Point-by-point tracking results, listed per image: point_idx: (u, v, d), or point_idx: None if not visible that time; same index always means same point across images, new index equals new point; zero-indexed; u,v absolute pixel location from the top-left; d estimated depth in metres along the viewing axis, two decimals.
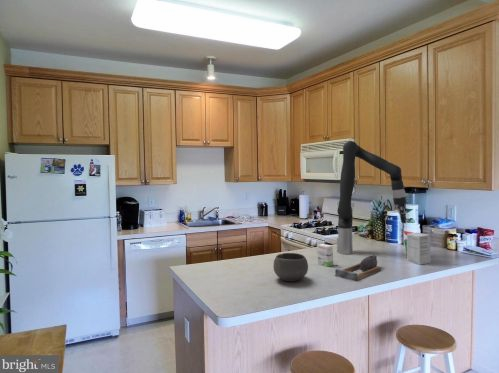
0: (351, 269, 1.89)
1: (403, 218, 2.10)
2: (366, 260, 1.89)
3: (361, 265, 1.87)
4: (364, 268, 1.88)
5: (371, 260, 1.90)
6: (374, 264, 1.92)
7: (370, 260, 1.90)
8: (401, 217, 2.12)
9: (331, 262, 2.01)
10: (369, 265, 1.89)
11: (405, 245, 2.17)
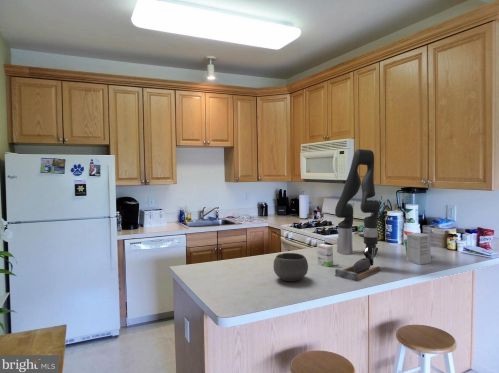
0: (351, 269, 1.89)
1: (370, 260, 1.93)
2: (359, 263, 1.84)
3: (354, 268, 1.82)
4: (357, 271, 1.82)
5: (364, 263, 1.85)
6: (367, 267, 1.87)
7: (363, 263, 1.85)
8: None
9: (331, 262, 2.01)
10: (362, 268, 1.83)
11: (405, 245, 2.17)
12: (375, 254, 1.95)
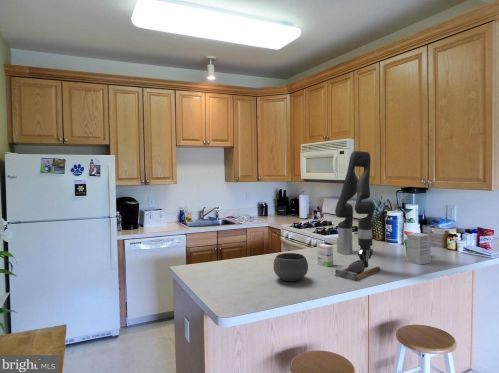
0: None
1: (364, 262, 1.89)
2: (353, 265, 1.80)
3: (348, 270, 1.78)
4: None
5: (358, 265, 1.81)
6: (361, 269, 1.83)
7: (357, 265, 1.81)
8: None
9: (331, 262, 2.01)
10: (356, 270, 1.80)
11: (405, 245, 2.17)
12: (370, 256, 1.91)
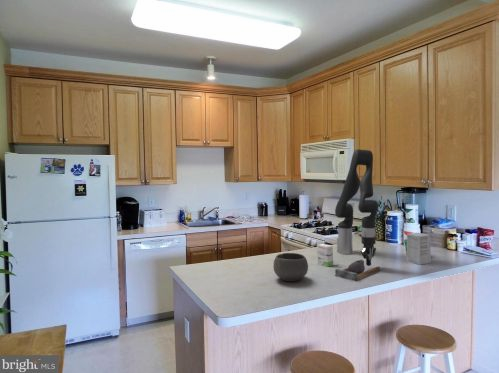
0: None
1: (367, 261, 1.92)
2: (353, 265, 1.80)
3: None
4: None
5: (358, 265, 1.81)
6: (361, 269, 1.83)
7: (357, 265, 1.81)
8: None
9: (331, 262, 2.01)
10: (356, 270, 1.80)
11: (405, 245, 2.17)
12: (373, 254, 1.94)
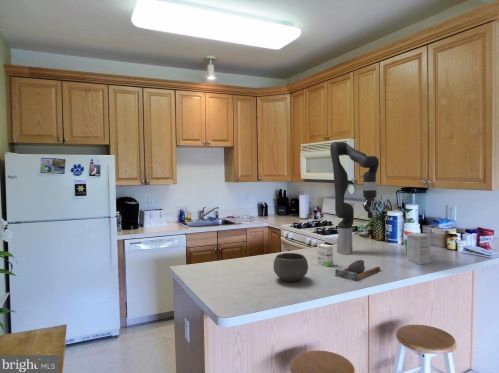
0: None
1: (369, 213, 2.03)
2: (353, 265, 1.80)
3: None
4: None
5: (358, 265, 1.81)
6: (361, 269, 1.83)
7: (357, 265, 1.81)
8: (368, 212, 2.04)
9: (331, 262, 2.01)
10: (356, 270, 1.80)
11: (405, 245, 2.17)
12: (374, 208, 2.05)
